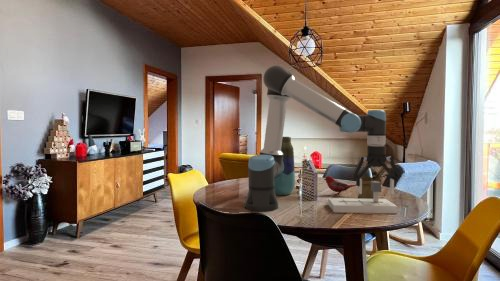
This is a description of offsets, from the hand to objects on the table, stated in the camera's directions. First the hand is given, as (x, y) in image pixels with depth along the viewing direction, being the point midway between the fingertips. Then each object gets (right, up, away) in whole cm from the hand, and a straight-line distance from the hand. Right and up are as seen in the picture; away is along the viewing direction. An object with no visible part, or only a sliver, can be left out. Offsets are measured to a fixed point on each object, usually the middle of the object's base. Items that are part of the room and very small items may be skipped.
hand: (375, 193), depth 140 cm
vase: (-38, -6, +34) cm, 51 cm away
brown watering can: (+5, -6, +18) cm, 20 cm away
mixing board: (-6, -7, +1) cm, 9 cm away
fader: (0, -4, 0) cm, 4 cm away
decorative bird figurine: (-7, -6, +30) cm, 31 cm away
